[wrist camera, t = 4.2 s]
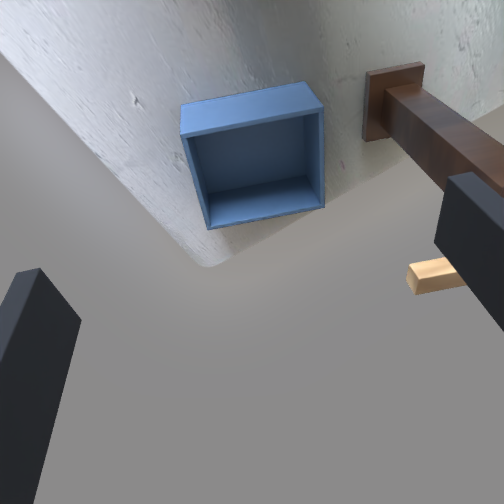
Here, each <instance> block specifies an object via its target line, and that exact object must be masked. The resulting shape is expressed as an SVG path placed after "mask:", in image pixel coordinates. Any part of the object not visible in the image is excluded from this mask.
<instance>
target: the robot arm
mask: <svg viewBox="0 0 504 504" xmlns="http://www.w3.org/2000/svg"><path fill="white" fill-rule="evenodd" d="M434 243H435V244H436V246H437V247H438V248H439V250H440V251H441V252H442V254H444V256H445V257H446V259H447V260H448V261H449V262H450V264H451V265H452V266H453V268H454V269H455V270H456V271H457V273H458V274H459V275H460V277H461V278H462V279H463V280H464V282H465V283H466V284H467V285H468V287H469V288H470V289H471V291H472V292H473V293H474V294H475V296H476V297H477V298H478V300H479V301H480V302H481V303H482V305H483V306H484V307H485V308H486V310H487V311H488V312H489V314H490V315H491V316H492V317H493V319H494V320H495V321H496V322H497V324H498V325H499V326H500V328H501V329H502V330H503V331H504V198H502V197H501V196H500V195H499V194H498V193H497V192H495V191H494V190H493V189H492V188H491V187H490V186H488V185H487V184H486V183H485V182H484V181H483V180H481V179H480V178H479V177H478V176H477V175H476V174H474V173H473V172H472V171H471V172H467V173H463V174H458V175H454V176H449V177H448V178H447V183H446V187H445V192H444V197H443V201H442V206H441V211H440V217H439V220H438V225H437V230H436V234H435V239H434ZM80 324H81V319H80V317H79V316H78V315H77V314H76V312H75V311H74V310H73V309H72V307H71V306H70V305H69V304H68V302H67V301H66V300H65V298H64V297H63V296H62V295H61V293H60V292H59V291H58V290H57V288H56V287H55V286H54V285H53V283H52V282H51V281H50V280H49V278H48V277H47V276H46V275H45V273H44V272H43V271H42V270H41V268H37V269H32V270H28V271H23V272H19V273H16V275H15V277H14V279H13V281H12V283H11V286H10V288H9V290H8V292H7V294H6V296H5V298H4V300H3V302H2V304H1V306H0V504H33V502H34V499H35V495H36V491H37V487H38V484H39V480H40V476H41V472H42V468H43V465H44V461H45V457H46V453H47V449H48V446H49V442H50V438H51V434H52V430H53V427H54V423H55V419H56V415H57V412H58V408H59V404H60V400H61V396H62V393H63V388H64V385H65V381H66V377H67V374H68V370H69V366H70V362H71V358H72V355H73V351H74V347H75V343H76V339H77V335H78V332H79V328H80Z"/></svg>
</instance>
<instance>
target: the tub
mask: <svg viewBox="0 0 504 504" xmlns="http://www.w3.org/2000/svg"><path fill="white" fill-rule="evenodd" d="M180 136H181V140H182V143H183V147H184V150H185V154H186V157H187V161H188V164H189V168H190V171H191V175H192V178H193V182H194V185H195V189H196V192H197V196H198V199H199V203H200V206H201V210H202V213H203V217H204V220H205V224H206V227H207V230H212V229H217V228H223V227H228V226H233V225H238V224H243V223H248V222H254V221H259V220H264V219H269V218H274V217H279V216H284V215H290V214H295V213H300V212H305V211H310V210H315V209H320V208H325V176H324V106H323V105H322V103H321V102H320V101H319V99H318V98H317V97H316V95H315V94H314V93H313V91H312V90H311V89H310V87H309V86H308V85H307V83H306V82H305V81H302V82H297V83H292V84H287V85H282V86H276V87H271V88H266V89H261V90H256V91H251V92H245V93H240V94H235V95H230V96H225V97H219V98H214V99H209V100H204V101H199V102H193V103H188V104H183V105H181V118H180Z"/></svg>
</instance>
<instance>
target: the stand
mask: <svg viewBox="0 0 504 504" xmlns="http://www.w3.org/2000/svg"><path fill="white" fill-rule="evenodd" d="M424 69H425V65H424V64H423V63H421V62H416V63H410V64H405V65H400V66H395V67H390V68H385V69H379V70H374V71H369V72H366V83H365V98H364V114H363V129H362V139H363V140H364V141H365V142H370V141H375V140H380V139H385V138H390V137H392V138H393V139H394V140H395V141H396V142H397V143H398V144H399V145H400V147H401V148H402V149H403V150H404V151H405V152H406V153H407V154H408V155H409V156H410V157H411V158H412V159H413V160H414V161H415V162H416V163H417V164H418V165H419V166H420V167H421V169H422V170H423V171H424V172H425V173H426V174H427V175H428V176H429V177H430V178H431V179H432V180H433V181H434V182H435V183H436V184H437V185H438V186H439V187H440V188H441V189H442V190H443V192H445V187H446V183H447V178H448V177H449V176H454V175H458V174H463V173H467V172H471V171H472V172H473V173H474V174H476V175H477V176H478V177H479V178H480V179H481V180H483V181H484V182H485V183H486V184H487V185H488V186H490V187H491V188H492V189H493V190H494V191H495V192H497V193H498V194H499V195H500V196H501V197H502V198H504V145H502V144H501V143H499V142H498V141H496V140H495V139H494V138H492V137H491V136H489V135H488V134H487V133H485V132H484V131H482V130H481V129H479V128H478V127H477V126H475V125H474V124H472V123H471V122H470V121H468V120H467V119H465V118H464V117H462V116H461V115H460V114H458V113H457V112H455V111H454V110H452V109H451V108H450V107H448V106H447V105H445V104H444V103H442V102H441V101H440V100H438V99H437V98H435V97H434V96H432V95H431V94H430V93H428V92H427V91H425V90H424V89H423V88H422V82H423V75H424Z"/></svg>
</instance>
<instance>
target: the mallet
mask: <svg viewBox="0 0 504 504" xmlns="http://www.w3.org/2000/svg"><path fill="white" fill-rule="evenodd" d="M406 281H407V283H408V284H409V286H410V288H411V289H412V291H413V293H414V294H415V295H419V294H424V293H429V292H433V291H439V290H444V289H449V288H454V287H459V286H465V285H467V284H466V283H465V282H464V280H463V279H462V278H461V277H460V275H459V274H458V273H457V271H456V270H455V269H454V268H453V266H452V265H451V264H450V262H449V261H448V260H447V259H446V257H443V258H438V259H434V260H428V261H423V262H418V263H413V264H409V267H408V272H407V277H406Z"/></svg>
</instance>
